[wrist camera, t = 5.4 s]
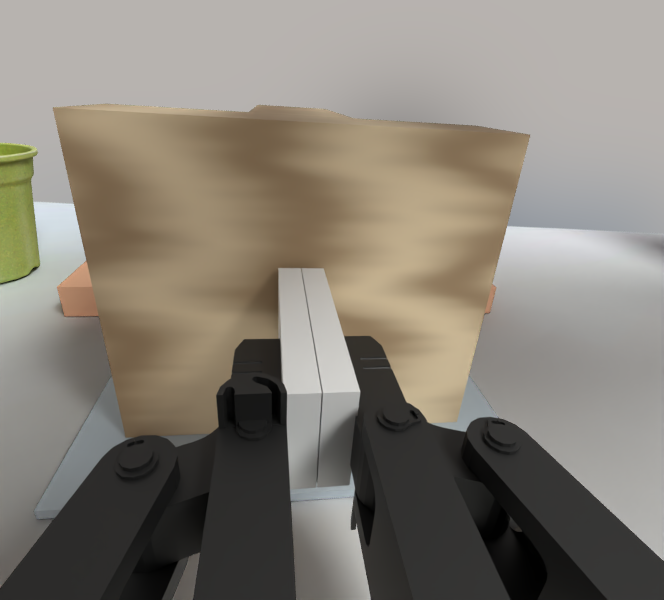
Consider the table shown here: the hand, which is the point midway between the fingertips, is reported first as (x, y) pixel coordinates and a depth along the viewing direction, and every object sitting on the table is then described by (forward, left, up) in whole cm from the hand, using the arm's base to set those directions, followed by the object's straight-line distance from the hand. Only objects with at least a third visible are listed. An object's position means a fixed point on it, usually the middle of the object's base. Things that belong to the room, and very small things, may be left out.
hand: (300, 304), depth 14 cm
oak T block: (0, -7, -6) cm, 10 cm away
